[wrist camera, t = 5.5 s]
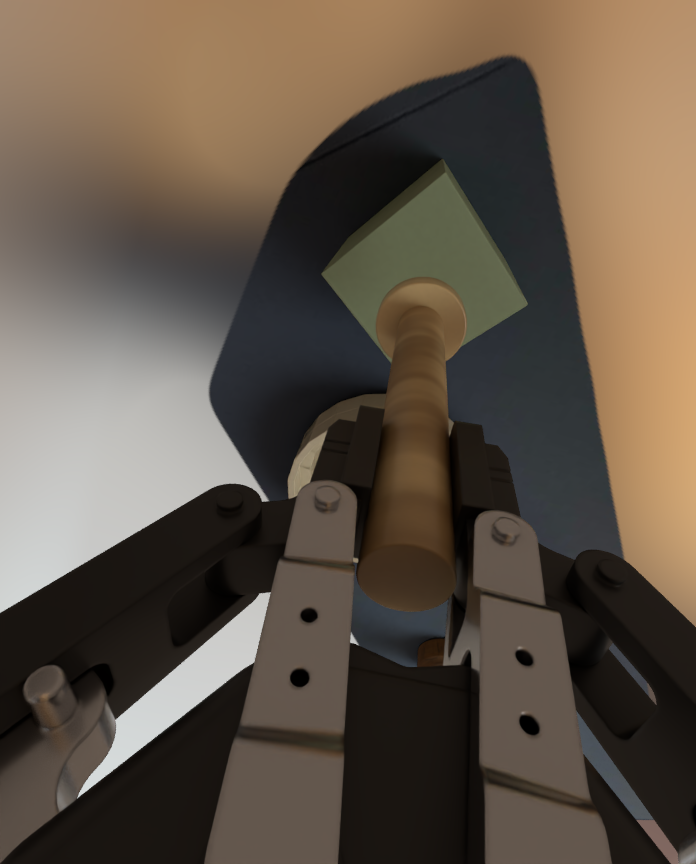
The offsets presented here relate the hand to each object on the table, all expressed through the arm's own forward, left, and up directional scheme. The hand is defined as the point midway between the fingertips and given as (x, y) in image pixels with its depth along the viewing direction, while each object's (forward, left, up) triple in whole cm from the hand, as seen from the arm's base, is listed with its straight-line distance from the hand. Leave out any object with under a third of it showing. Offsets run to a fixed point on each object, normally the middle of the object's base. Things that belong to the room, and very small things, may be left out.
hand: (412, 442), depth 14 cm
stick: (0, 0, -10) cm, 10 cm away
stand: (0, 0, -25) cm, 25 cm away
